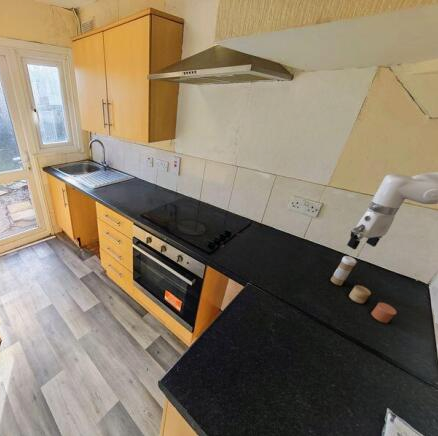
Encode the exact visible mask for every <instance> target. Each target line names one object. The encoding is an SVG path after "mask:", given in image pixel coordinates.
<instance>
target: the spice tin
mask: <svg viewBox="0 0 438 436" xmlns="http://www.w3.org/2000/svg"><path fill="white" fill-rule="evenodd" d="M371 294H372V292H371V291H370V289H369V288H366V287H365V286H363V285H359V284H357V285H354V287H353V288H352V289H351V291H350V293H349V294H348V296H349V298H350V299H351V300H352V301H353V302H355V303H358V304H365V303H366V302H367V300H368V299H369V297H370V296H371Z"/></svg>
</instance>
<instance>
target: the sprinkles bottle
mask: <svg viewBox="0 0 438 436" xmlns="http://www.w3.org/2000/svg"><path fill="white" fill-rule="evenodd" d="M356 264H357V260H356V259H355V258H354V257H352V256H349V255H345V256H343V257H342V258H341V261H340V263H339V265H338V266H337V268H336V269H335V271H334V273H333V275H332V276H331V278H330V281H331V282H332V283H333V284H335V285H337V286H342V285H343V284H344V282H345V281H346V280H347V278H348V276H349V274H350V273H351V271H353V268H354V267H355V266H356Z"/></svg>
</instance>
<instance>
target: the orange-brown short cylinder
mask: <svg viewBox="0 0 438 436" xmlns="http://www.w3.org/2000/svg"><path fill="white" fill-rule="evenodd" d="M370 314H371V317H373V318H374V319H375V320H377V321H378V322H381V323H385V324H388V323H390V322H391V320H392V319H393V318H394V317H395V316H396V315H397V310H396V308H394V307H393V306H391V305H390V304H388V303H385V302H378V303H377V304H376V306H374V308H373V309H372V311H371V312H370Z"/></svg>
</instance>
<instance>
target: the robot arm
mask: <svg viewBox="0 0 438 436" xmlns="http://www.w3.org/2000/svg"><path fill="white" fill-rule="evenodd" d="M405 200H407V201H412V202H415V203H419V204H423V205H438V171H435V172H425V173H420V174H416V175H413V176H409V175H404V174H399V173H390V174H387V175H385V177H384V178H383V180H382V182H381V183H380V185H379V187H378V189H377V191H376V193H375V195H374V196H373V197H372V200H371V202H370V204H369V205H368V207H367V210H366V212H364V214H363V216H362V217H361V218H360V220H359V221H358V223H357V225H356V227H355V228H352V229H351V231H350V239H349V240H348V242H347V244H346V246H347V247H349V248H351V250H357V248H358V247H359V245H360V243H361V240H362V239H363V238H366V239H367V240H366V241H365V242H366V244H368V245H369V246H371V247H376V246H377V245H378V243H379V241H380V240H381V239H382V238H383V237H384V236H386V234H387V233H388V231H389V229H390V228H391V226H392V224H393V222H394V220H395V217H396V215H397V213H398V211H399V209H400V208H401V206H402V205H403V203H404V202H405Z"/></svg>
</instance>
